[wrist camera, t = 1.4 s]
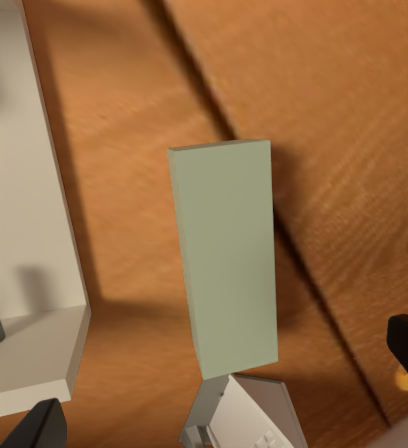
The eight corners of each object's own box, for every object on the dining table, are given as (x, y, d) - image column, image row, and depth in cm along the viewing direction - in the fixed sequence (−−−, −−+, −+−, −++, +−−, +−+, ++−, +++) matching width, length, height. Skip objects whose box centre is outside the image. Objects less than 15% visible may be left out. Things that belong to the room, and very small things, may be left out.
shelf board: (255, 325, 24) (278, 361, 20) (192, 339, 23) (203, 380, 19) (244, 138, 19) (270, 140, 16) (166, 147, 19) (173, 151, 15)
